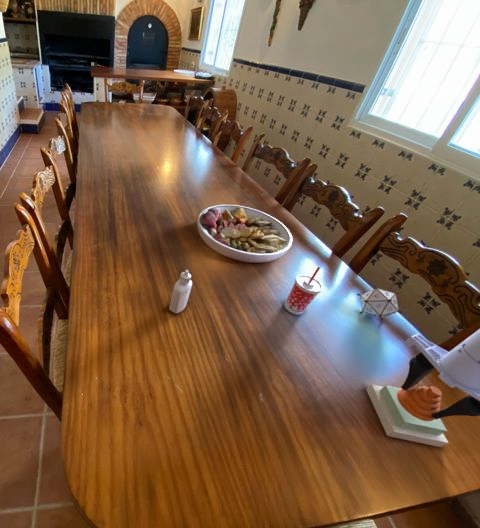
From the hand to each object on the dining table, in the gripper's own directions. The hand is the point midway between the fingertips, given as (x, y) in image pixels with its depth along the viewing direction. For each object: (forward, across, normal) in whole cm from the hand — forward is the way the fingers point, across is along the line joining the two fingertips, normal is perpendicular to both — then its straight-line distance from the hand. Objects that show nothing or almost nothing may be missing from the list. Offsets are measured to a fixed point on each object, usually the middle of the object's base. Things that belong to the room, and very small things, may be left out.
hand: (420, 400), depth 51 cm
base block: (+8, 0, +2) cm, 8 cm away
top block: (+6, 0, +2) cm, 6 cm away
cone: (+1, 0, 0) cm, 1 cm away
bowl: (+8, -59, +8) cm, 60 cm away
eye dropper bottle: (+8, -38, -26) cm, 47 cm away
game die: (+8, -21, +22) cm, 31 cm away
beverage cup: (+8, -29, +3) cm, 30 cm away
